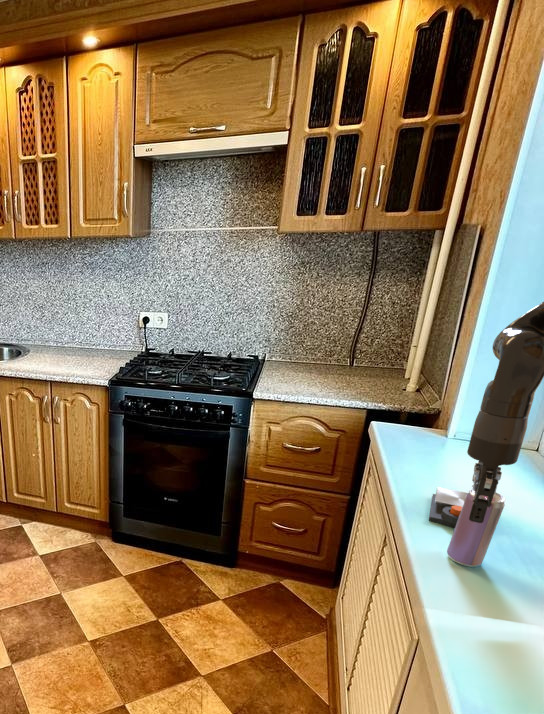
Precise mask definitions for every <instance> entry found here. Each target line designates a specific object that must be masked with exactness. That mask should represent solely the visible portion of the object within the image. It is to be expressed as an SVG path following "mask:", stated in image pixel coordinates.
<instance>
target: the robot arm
mask: <svg viewBox="0 0 544 714" xmlns="http://www.w3.org/2000/svg"><path fill="white" fill-rule="evenodd" d="M492 353H493V355H494V356H495V358H496V359H497V360H498V365H497V369H496V371H495V374H494V378H493V379H492V380H490V381H489V382H488V383H487V385H486V387H485V390H484V392H483V396H482V399H481V404H480V407H479V410H478V414H477V415H476V418H475V421H474V424H473V428H472V432H471V435H470V439H469V440H470V441H469V444H468V447H467V451H466V453H467V455H468V456H469V457H470V458H471V459H473V460H476V461H478V462H475V463H474V467H473V474H472V483H473V484H472V486H471V489H472V490H473V491H474V492H475V494H474V498H473V499H472V502H473V505H472V508H471V512H470V515H469V520H470V521H473V522H477V523H483V521H484V517H485V514H486V510H487V507H490V506H491V505H492V503H491V502H492V499H493V496H494V494H495V493H497V490H498V489H497V488H498V484H499V481H500V480H501V478H502V467H501V466H511V465H515V464H516V463H517V462H518V459H519V456H520V453H521V451H522V450H521V449H522V445H523V443H524V440H525V436H526V432H527V429H528V422H529V421H528V420H529V415H530V413H531V409H532V406H533V403H534V399H535V395H536V391H537V390H538V388H539V386H540V385H541V383H542V381H543V379H544V301H543V302H541V303H539V304H538V305H536V306H534V307H533V308H530V309H529V310H528V311H527V312H525V313H523V314H522V315H521V316H519V317H518V318H516V319H515V320H514V321H512V322H511V323H509V324H508V325H507V326H506V327H505V328H503V329H502V330H501V331H500V332H499V333H498V334H497V336H496V337H495V338H494V340H493V344H492ZM480 495H483V496H487V500H485V499H480V498H479V496H480Z"/></svg>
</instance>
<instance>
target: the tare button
mask: <svg viewBox="0 0 544 714" xmlns="http://www.w3.org/2000/svg"><path fill="white" fill-rule="evenodd" d="M461 510H462V507H461V506H457V505H454V506H452V507H451V511H450V513H451V514H453V515H456V516H459V515H460V513H461Z"/></svg>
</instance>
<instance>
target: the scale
mask: <svg viewBox="0 0 544 714" xmlns="http://www.w3.org/2000/svg"><path fill="white" fill-rule="evenodd" d="M435 498H436V493H432V495H431V502H430V508H429V516H428V522H431V523H435V524H439V525H442V526H447V527H450V528H454V529H455V527H456V524H457V521H458V518H459V516H456V515H453V514H451V513H450V511H451V507H452V506H449V505H445V504H440V503H435Z"/></svg>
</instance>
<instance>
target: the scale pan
mask: <svg viewBox="0 0 544 714" xmlns="http://www.w3.org/2000/svg"><path fill="white" fill-rule="evenodd" d="M468 493H469V492H466V491H465V492H464V491H459V490H454V489H451V488H445V487H439V486H437V487H436V491H435V494H436V498H435V503H440V504H445V505H449V506H454V505H457V506H461V507H463V504H464V501H465V498H466V496H467V494H468Z"/></svg>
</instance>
